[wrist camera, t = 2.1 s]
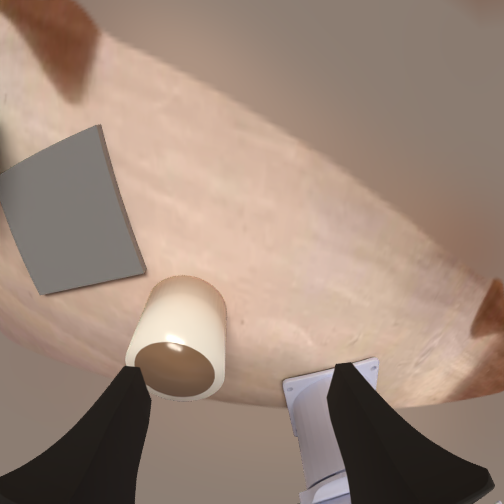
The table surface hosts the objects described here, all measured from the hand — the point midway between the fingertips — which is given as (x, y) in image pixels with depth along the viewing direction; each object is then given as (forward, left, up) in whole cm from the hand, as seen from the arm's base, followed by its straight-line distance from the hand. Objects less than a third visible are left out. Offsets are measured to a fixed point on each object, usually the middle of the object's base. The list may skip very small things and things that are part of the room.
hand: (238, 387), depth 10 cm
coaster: (+6, +10, -9) cm, 14 cm away
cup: (-2, +4, -9) cm, 10 cm away
